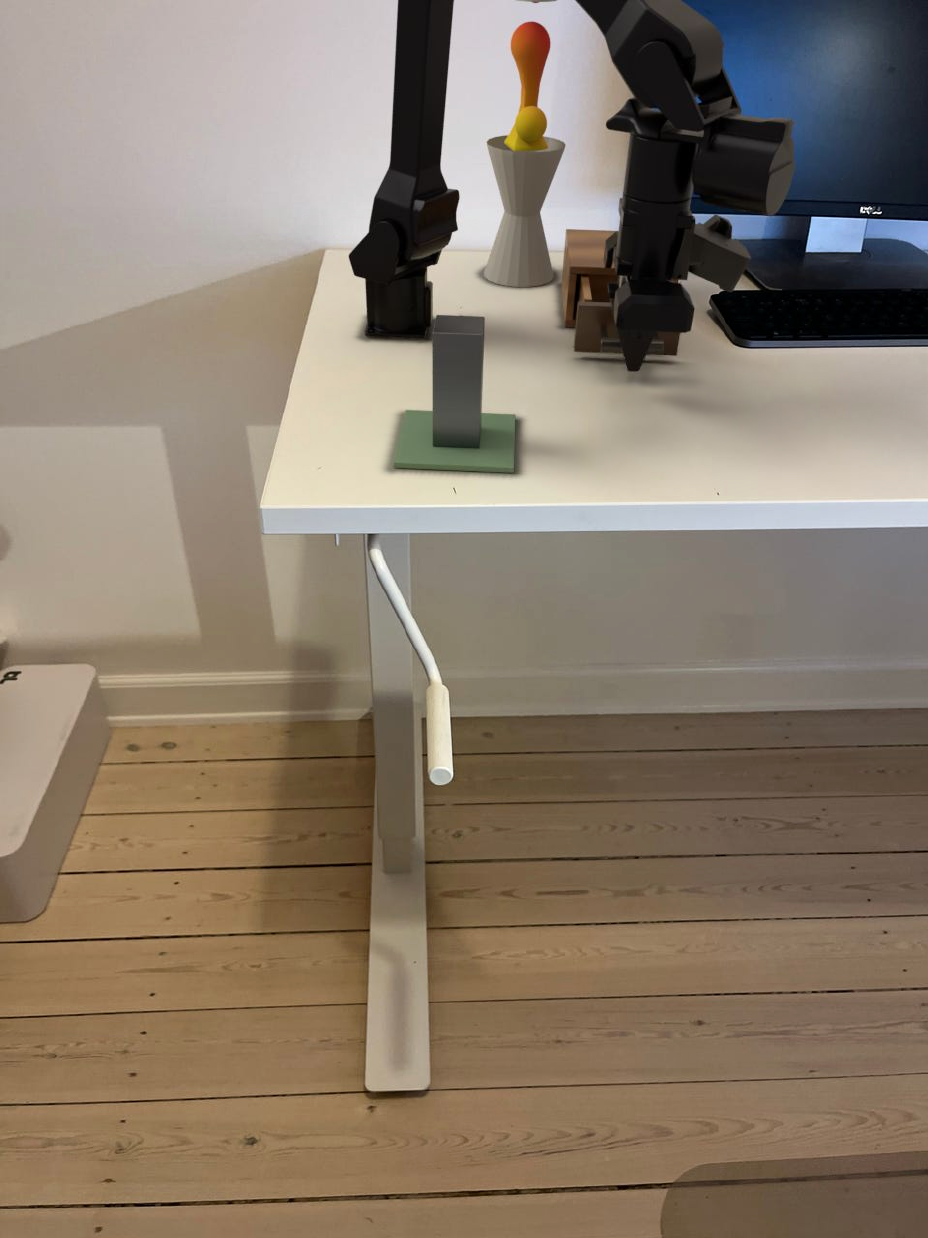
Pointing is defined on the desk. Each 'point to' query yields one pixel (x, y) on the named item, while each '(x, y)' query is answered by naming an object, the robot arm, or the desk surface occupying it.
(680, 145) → the robot arm
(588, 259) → the cabinet
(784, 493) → the desk surface
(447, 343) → the tall grey pillar
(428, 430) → the mat
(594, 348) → the drawer
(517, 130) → the lava lamp
